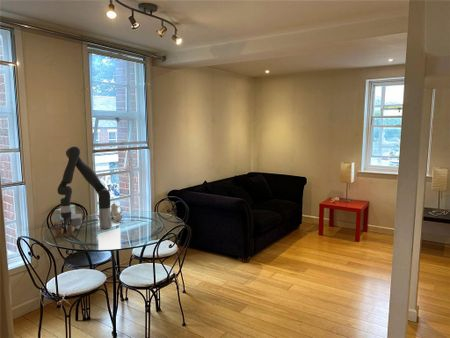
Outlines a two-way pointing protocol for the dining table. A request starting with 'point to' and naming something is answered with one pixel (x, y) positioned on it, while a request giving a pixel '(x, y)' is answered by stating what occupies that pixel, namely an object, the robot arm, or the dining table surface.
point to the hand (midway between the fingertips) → (67, 231)
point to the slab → (76, 219)
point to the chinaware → (115, 213)
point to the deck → (58, 234)
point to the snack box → (58, 215)
